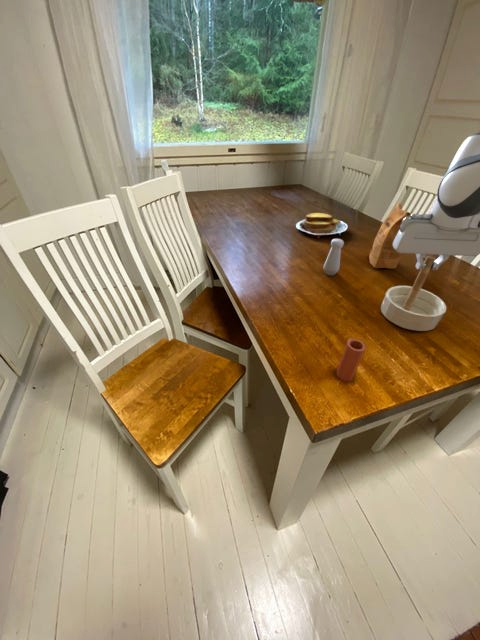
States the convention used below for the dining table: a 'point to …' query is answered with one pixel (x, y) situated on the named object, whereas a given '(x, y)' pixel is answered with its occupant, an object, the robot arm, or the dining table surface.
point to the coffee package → (388, 240)
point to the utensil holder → (350, 359)
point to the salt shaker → (333, 257)
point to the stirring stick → (418, 283)
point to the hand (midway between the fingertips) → (425, 268)
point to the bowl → (413, 309)
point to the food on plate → (321, 224)
